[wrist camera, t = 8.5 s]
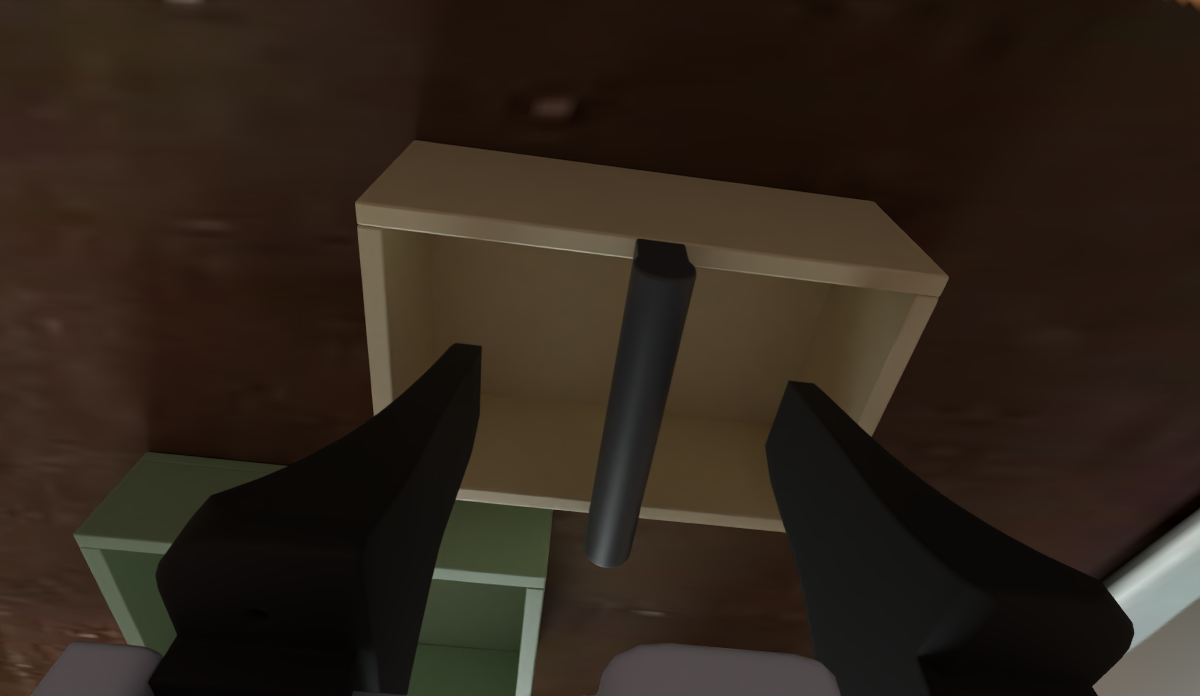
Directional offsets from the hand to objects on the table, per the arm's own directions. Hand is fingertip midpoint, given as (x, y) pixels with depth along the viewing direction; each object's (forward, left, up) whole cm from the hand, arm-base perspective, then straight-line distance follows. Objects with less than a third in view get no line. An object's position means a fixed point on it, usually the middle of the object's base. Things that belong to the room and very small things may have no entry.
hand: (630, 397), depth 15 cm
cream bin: (0, 0, -4) cm, 4 cm away
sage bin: (-13, +9, -4) cm, 16 cm away
